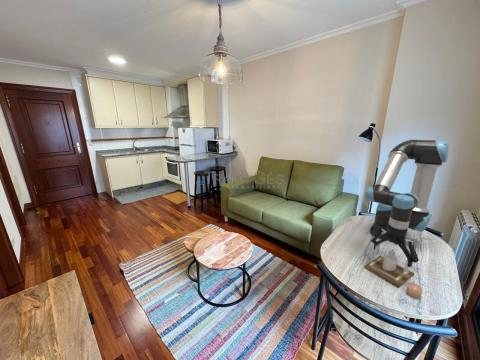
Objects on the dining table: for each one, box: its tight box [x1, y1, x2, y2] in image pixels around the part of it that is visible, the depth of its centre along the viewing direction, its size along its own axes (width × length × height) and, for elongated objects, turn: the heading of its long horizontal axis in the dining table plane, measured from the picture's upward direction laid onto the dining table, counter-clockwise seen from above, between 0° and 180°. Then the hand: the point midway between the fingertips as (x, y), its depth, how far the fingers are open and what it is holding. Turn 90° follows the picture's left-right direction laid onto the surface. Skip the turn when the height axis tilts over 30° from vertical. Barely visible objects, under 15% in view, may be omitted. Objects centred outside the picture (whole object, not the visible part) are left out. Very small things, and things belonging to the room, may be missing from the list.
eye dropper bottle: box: [382, 249, 399, 271], centre depth 101 cm, size 4×6×12 cm
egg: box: [405, 282, 423, 300], centre depth 89 cm, size 5×5×4 cm
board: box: [363, 255, 415, 289], centre depth 103 cm, size 16×16×2 cm
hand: (389, 262), depth 102 cm, fingers open, 13 cm apart
